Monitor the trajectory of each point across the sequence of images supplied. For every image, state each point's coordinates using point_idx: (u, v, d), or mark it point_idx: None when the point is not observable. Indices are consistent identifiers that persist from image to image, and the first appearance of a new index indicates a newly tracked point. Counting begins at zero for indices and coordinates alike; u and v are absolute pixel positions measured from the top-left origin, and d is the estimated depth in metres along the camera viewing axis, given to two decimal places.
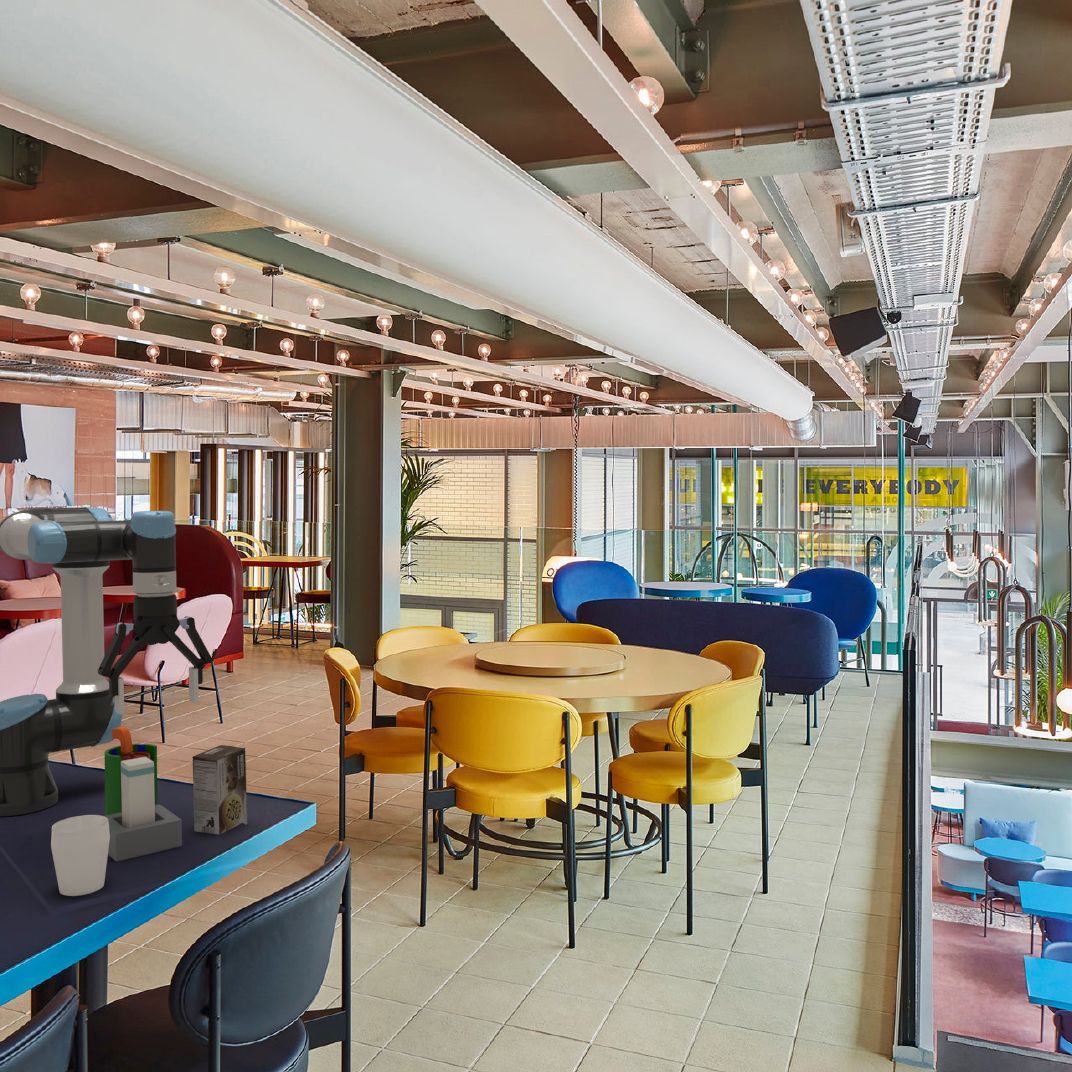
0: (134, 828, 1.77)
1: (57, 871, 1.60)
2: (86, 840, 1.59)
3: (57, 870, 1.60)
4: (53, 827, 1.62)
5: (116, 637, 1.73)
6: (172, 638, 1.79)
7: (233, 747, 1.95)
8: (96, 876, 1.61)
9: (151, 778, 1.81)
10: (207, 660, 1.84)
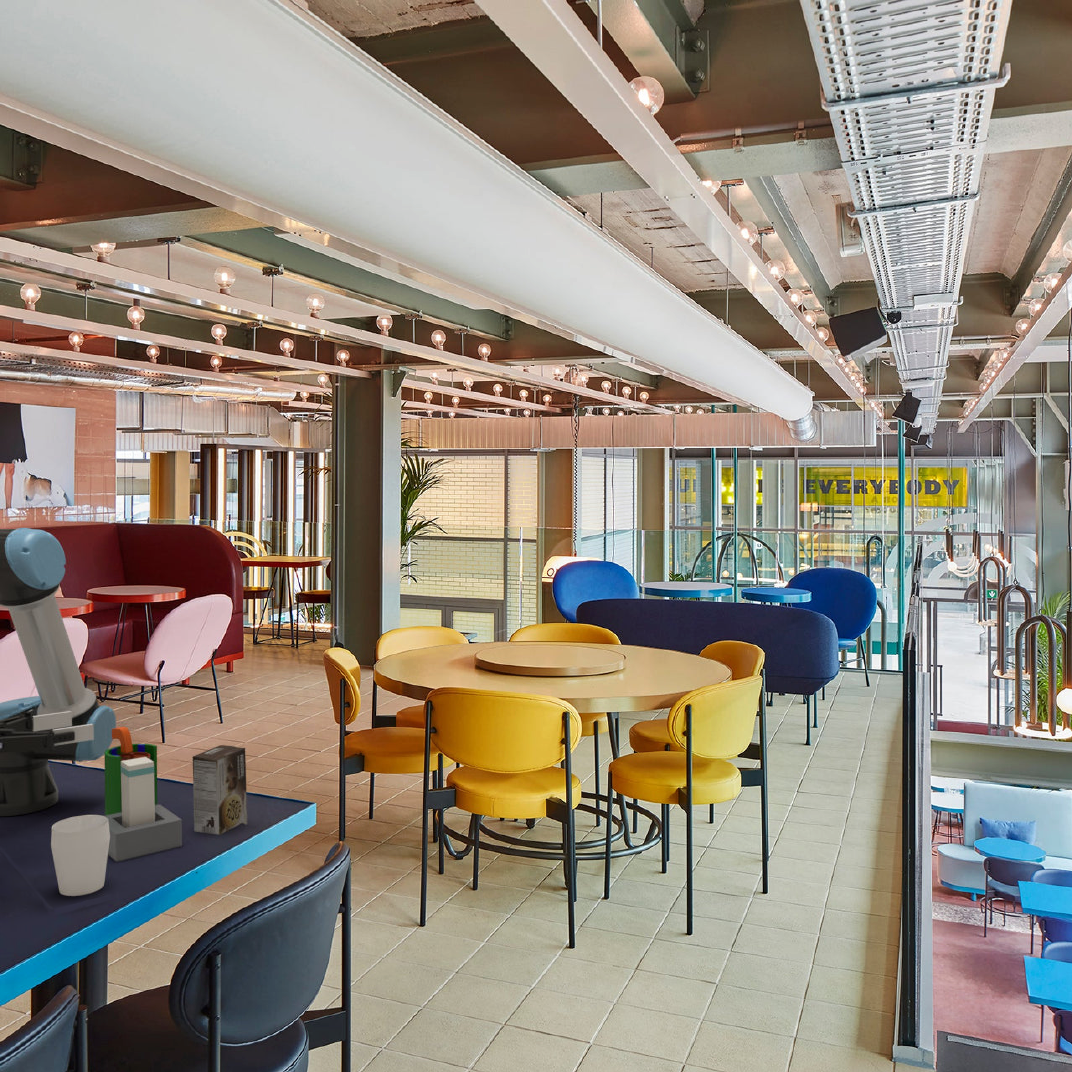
0: (134, 828, 1.77)
1: (57, 871, 1.60)
2: (86, 840, 1.59)
3: (57, 870, 1.60)
4: (53, 827, 1.62)
5: None
6: None
7: (233, 747, 1.95)
8: (96, 876, 1.61)
9: (151, 778, 1.81)
10: None
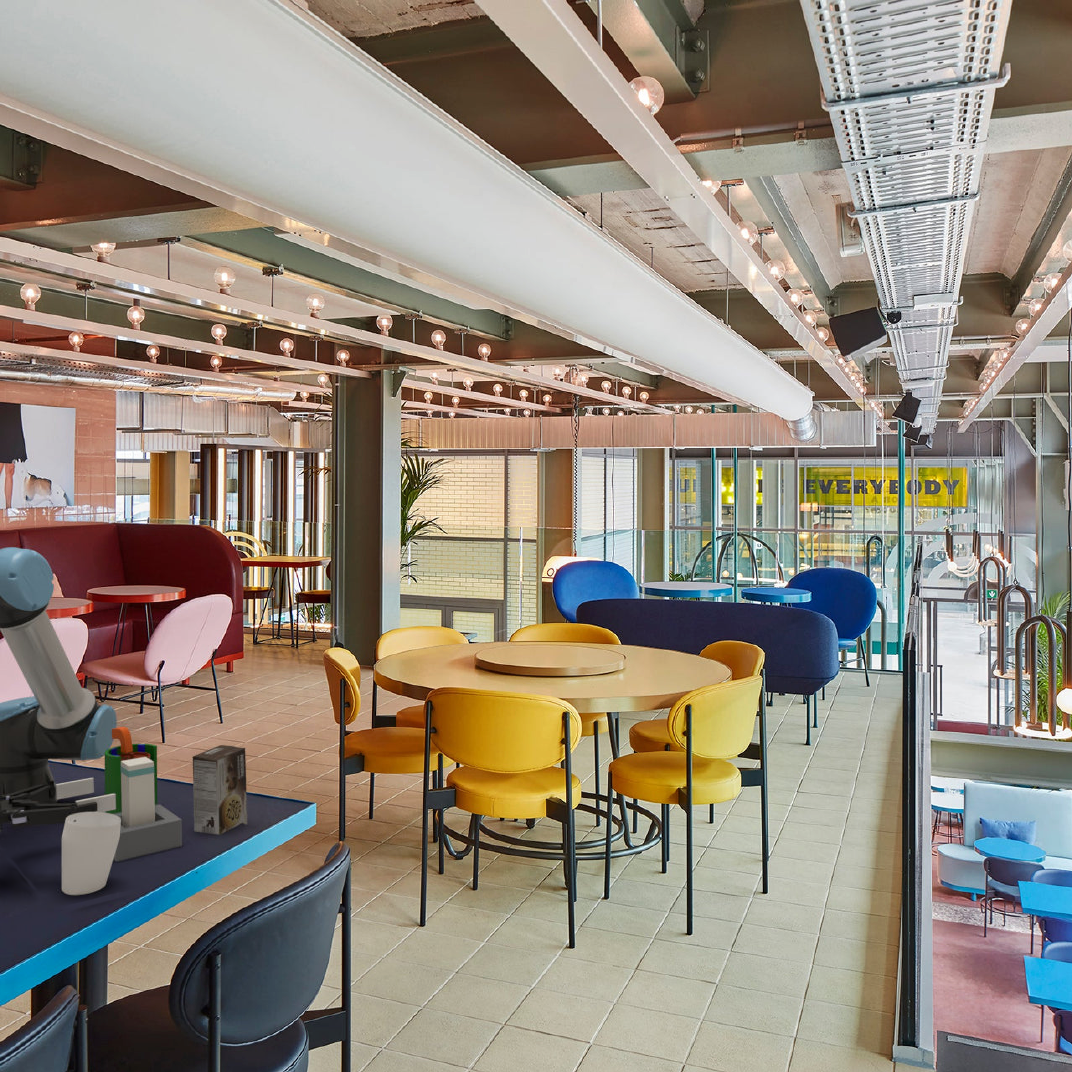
0: (134, 828, 1.77)
1: (63, 863, 1.60)
2: (96, 837, 1.60)
3: (63, 862, 1.60)
4: (67, 819, 1.63)
5: None
6: None
7: (233, 747, 1.95)
8: (99, 875, 1.61)
9: (151, 778, 1.81)
10: None
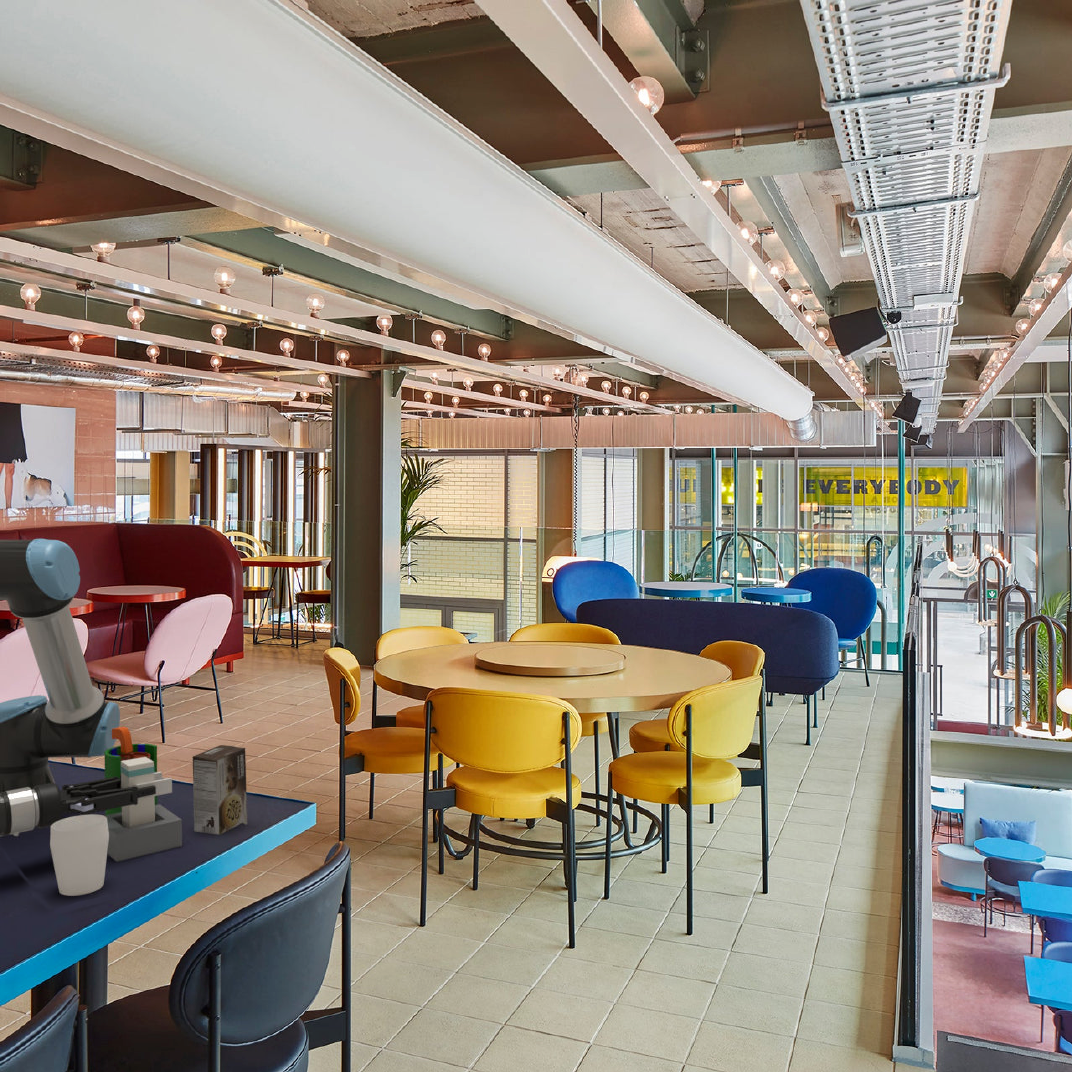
0: (134, 828, 1.77)
1: (57, 871, 1.60)
2: (86, 838, 1.59)
3: (57, 869, 1.60)
4: (52, 827, 1.62)
5: None
6: None
7: (233, 747, 1.95)
8: (96, 875, 1.61)
9: (151, 778, 1.81)
10: None
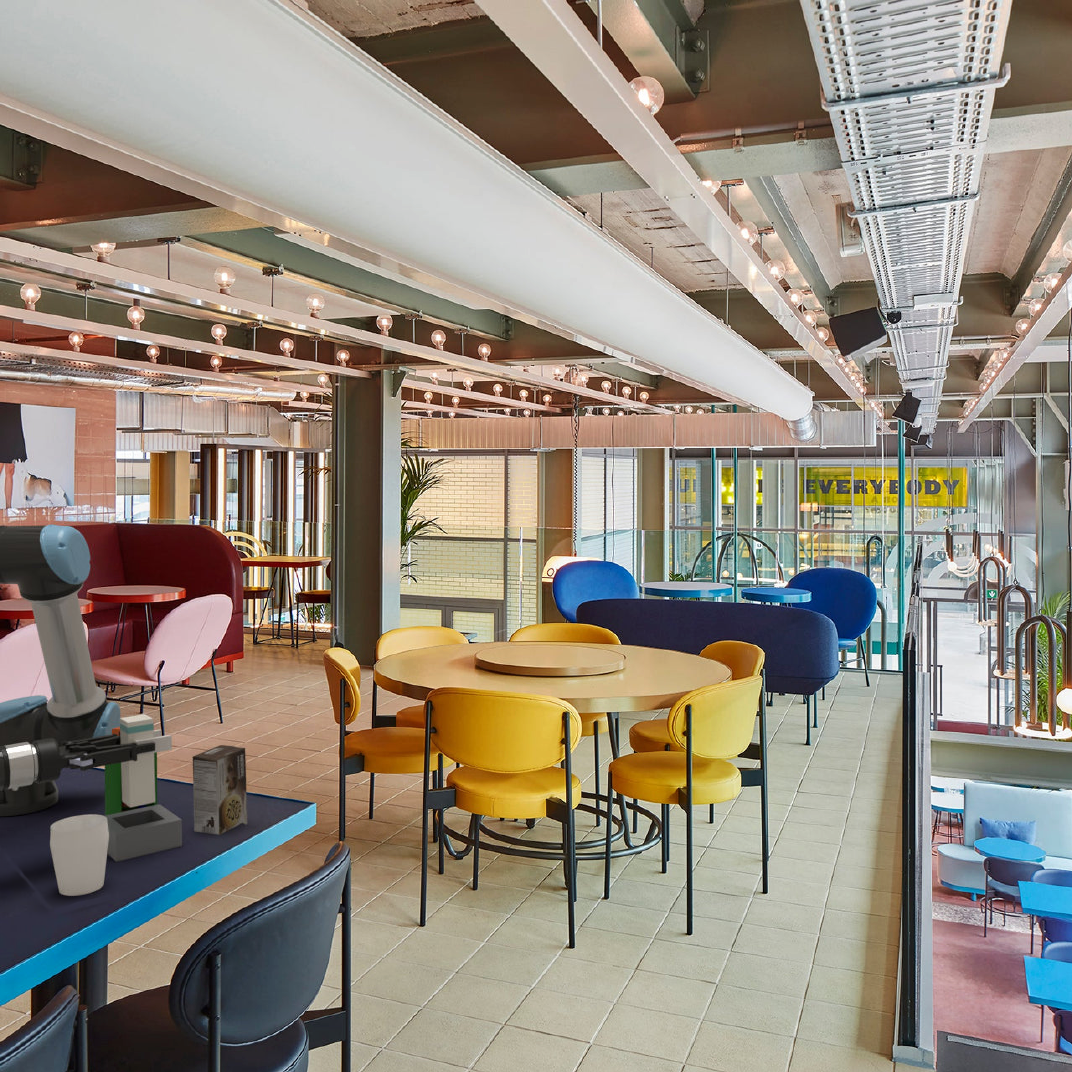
0: (134, 828, 1.77)
1: (57, 871, 1.60)
2: (87, 838, 1.59)
3: (57, 870, 1.59)
4: (51, 827, 1.62)
5: None
6: None
7: (233, 747, 1.95)
8: (96, 875, 1.61)
9: (150, 735, 1.80)
10: None
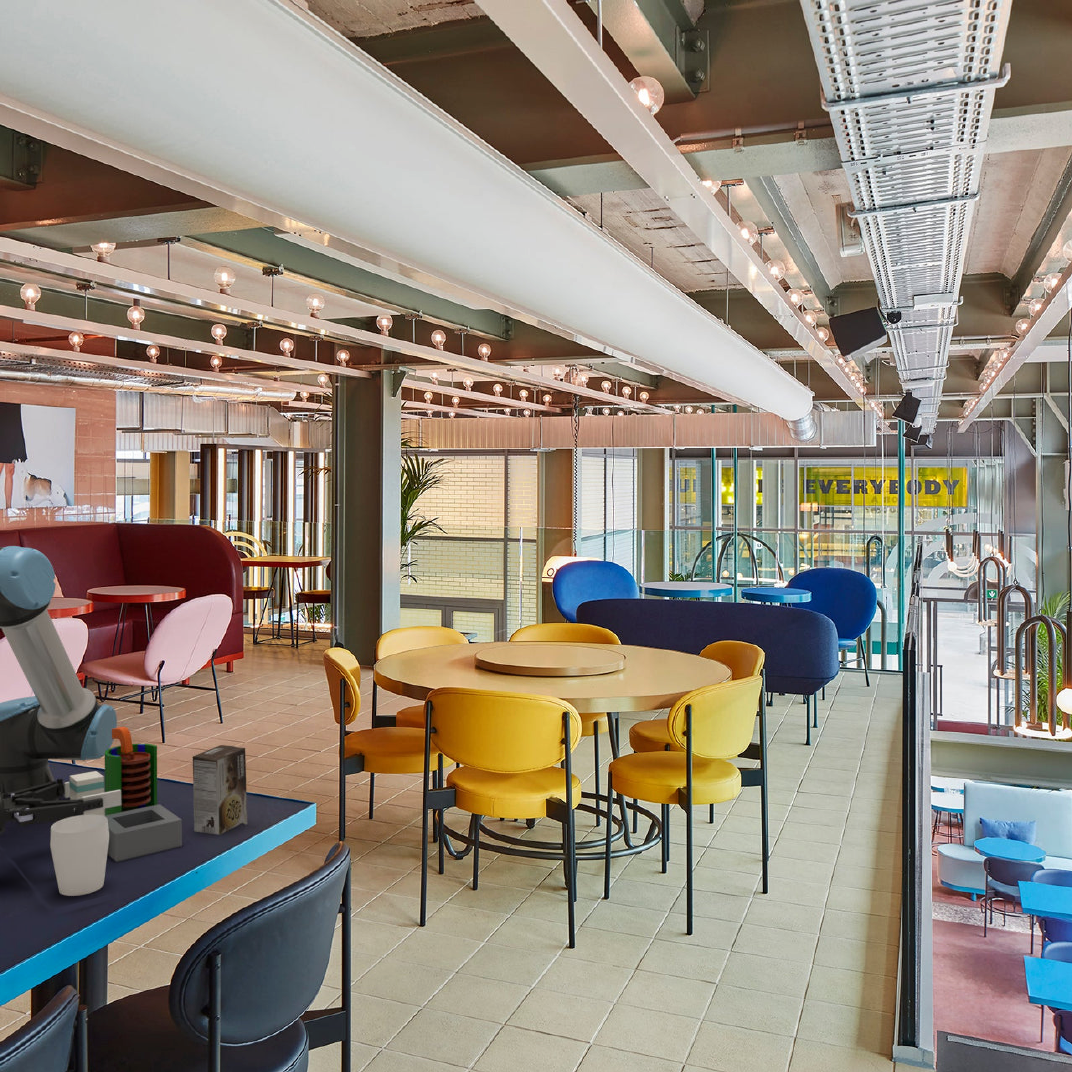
0: (134, 828, 1.77)
1: (58, 872, 1.59)
2: (88, 840, 1.59)
3: (58, 871, 1.59)
4: (51, 828, 1.61)
5: None
6: None
7: (233, 747, 1.95)
8: (97, 875, 1.61)
9: None
10: None
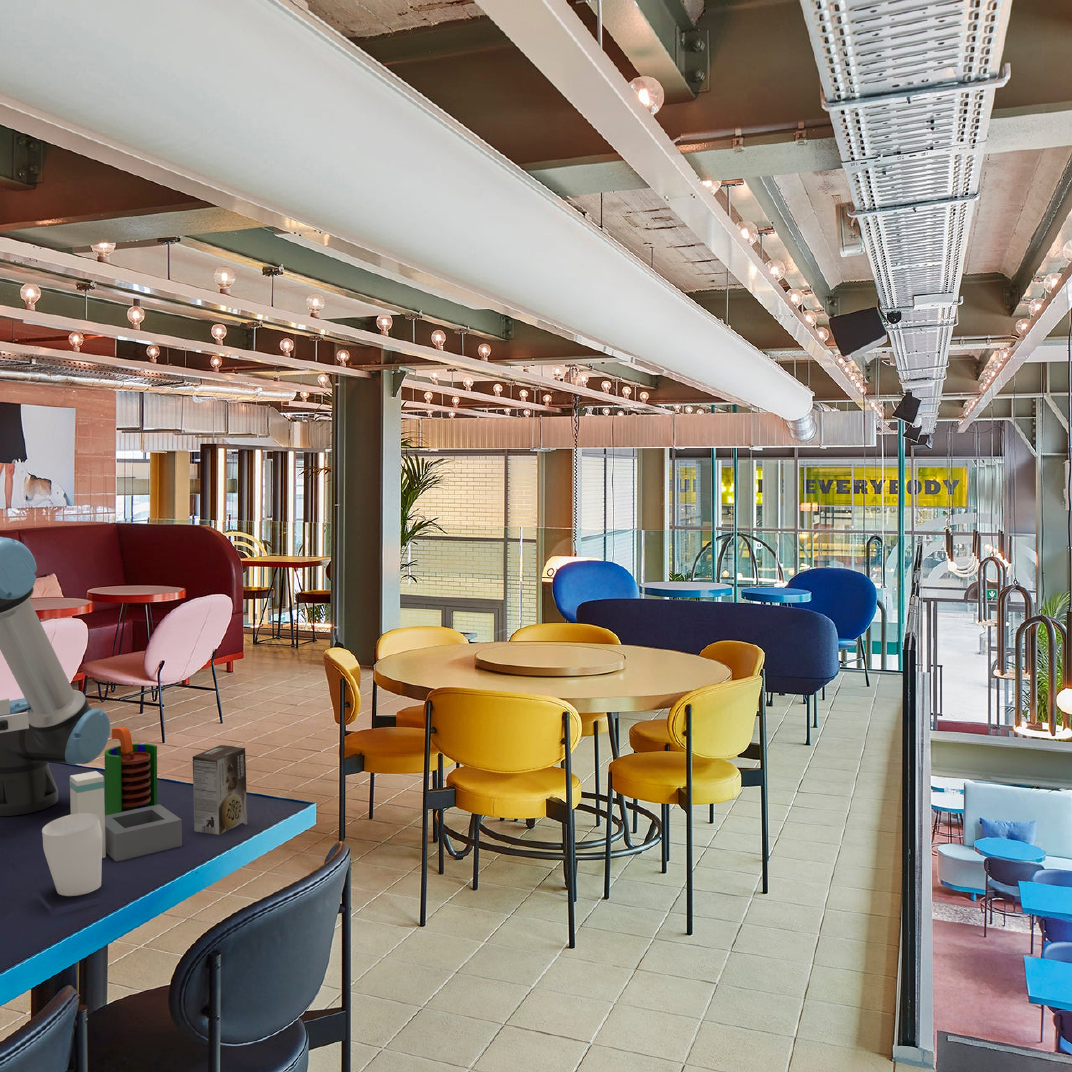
0: (134, 828, 1.77)
1: (53, 873, 1.59)
2: (80, 841, 1.58)
3: (53, 872, 1.59)
4: (43, 830, 1.60)
5: None
6: None
7: (233, 747, 1.95)
8: (93, 874, 1.61)
9: (101, 793, 1.76)
10: None
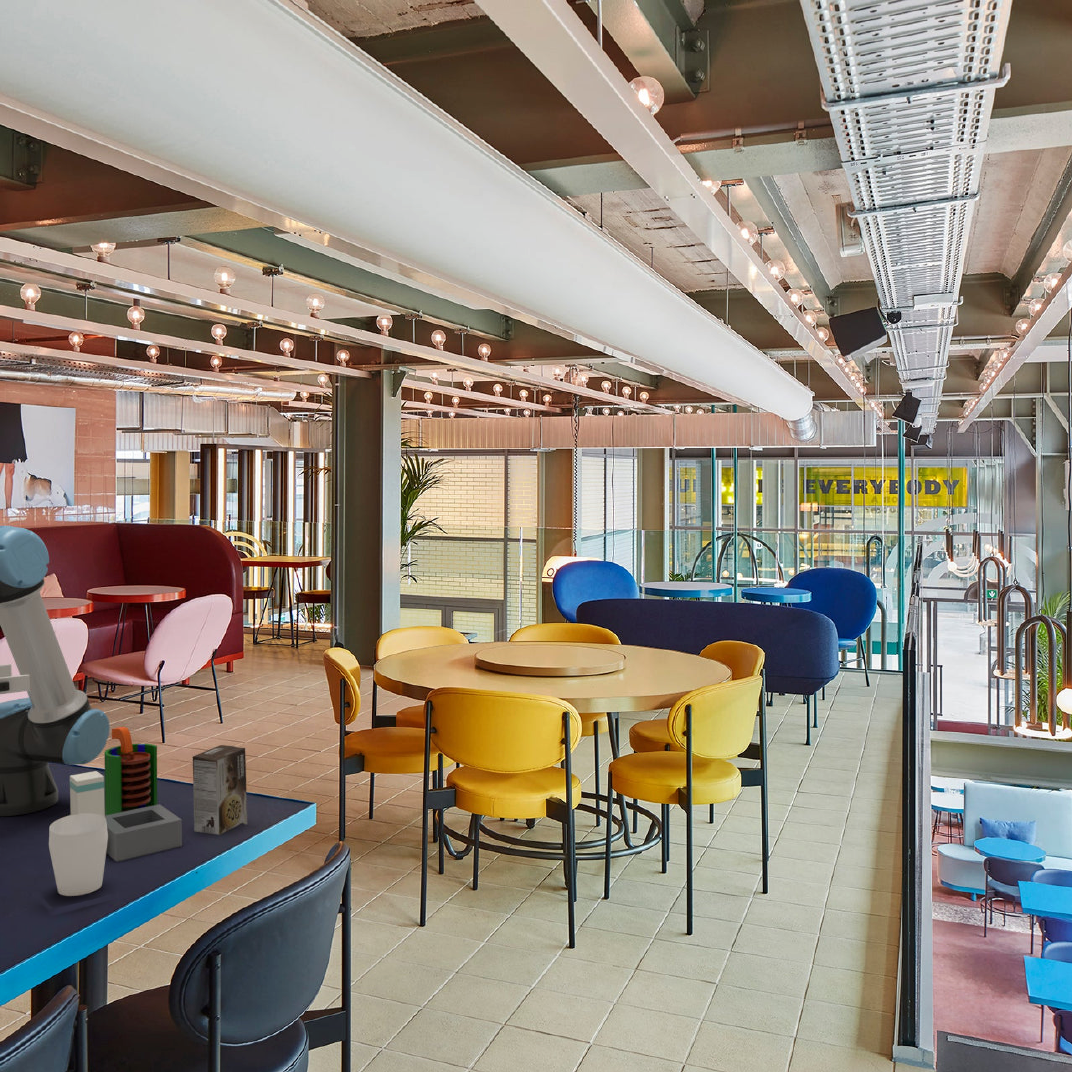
0: (134, 828, 1.77)
1: (55, 871, 1.59)
2: (84, 842, 1.58)
3: (55, 870, 1.59)
4: (51, 827, 1.61)
5: None
6: None
7: (233, 747, 1.95)
8: (94, 876, 1.61)
9: (101, 793, 1.76)
10: None
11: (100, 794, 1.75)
